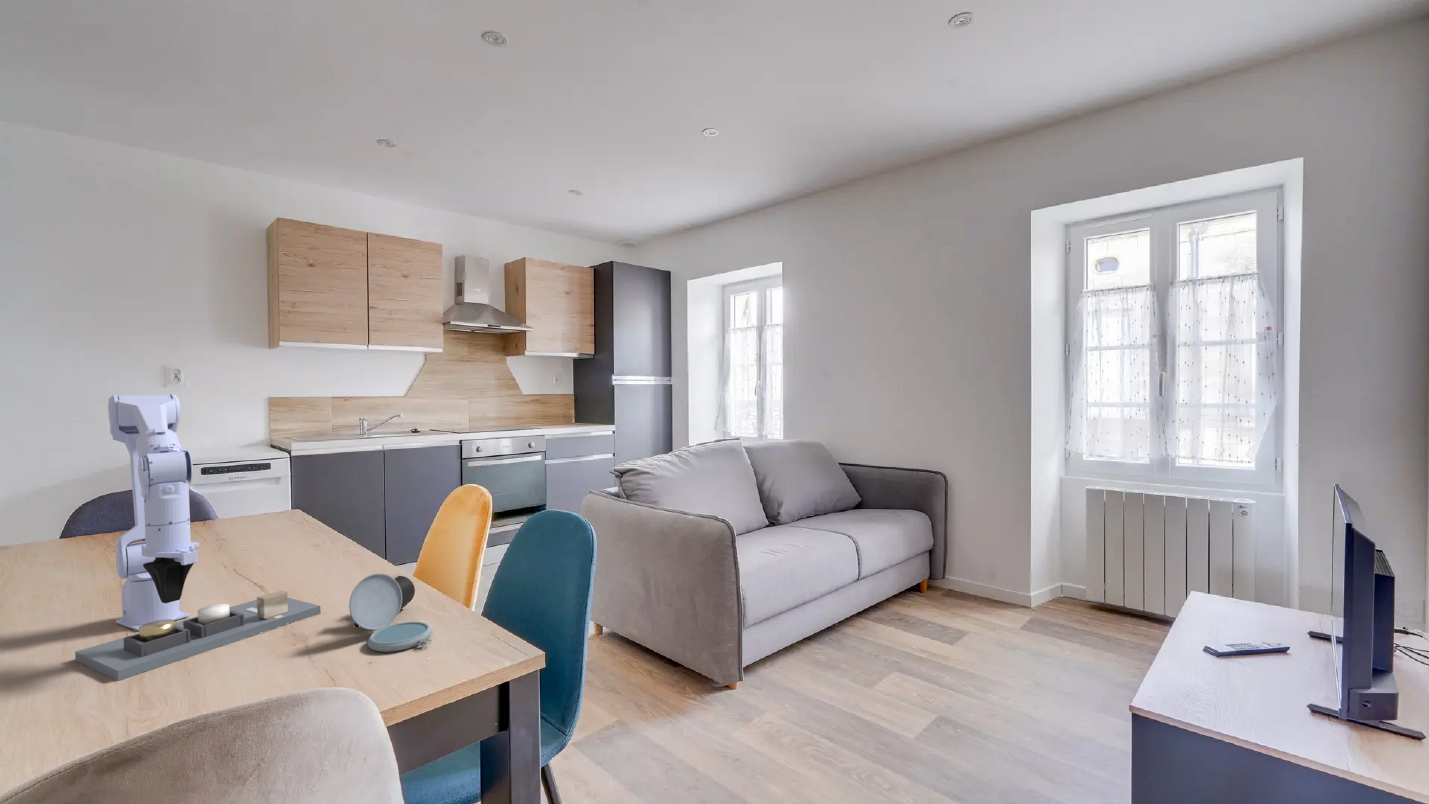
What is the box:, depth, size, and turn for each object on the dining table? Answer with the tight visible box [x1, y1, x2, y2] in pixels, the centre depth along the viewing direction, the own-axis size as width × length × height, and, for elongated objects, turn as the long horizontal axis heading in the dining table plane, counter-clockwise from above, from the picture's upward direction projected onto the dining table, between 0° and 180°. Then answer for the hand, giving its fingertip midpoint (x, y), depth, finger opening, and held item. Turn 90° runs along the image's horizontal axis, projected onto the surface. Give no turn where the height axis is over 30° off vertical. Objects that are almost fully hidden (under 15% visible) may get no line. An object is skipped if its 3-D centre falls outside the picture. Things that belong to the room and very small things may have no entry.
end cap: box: [353, 575, 416, 628], centre depth 116 cm, size 10×7×7 cm
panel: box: [74, 597, 322, 681], centre depth 109 cm, size 16×30×4 cm, turn 153°
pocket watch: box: [348, 573, 433, 653], centre depth 105 cm, size 10×11×15 cm
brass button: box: [138, 619, 176, 641], centre depth 101 cm, size 4×4×2 cm
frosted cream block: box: [256, 589, 288, 619], centre depth 114 cm, size 2×4×4 cm, turn 153°
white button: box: [197, 603, 230, 624], centre depth 108 cm, size 4×4×2 cm
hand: (170, 601), depth 103 cm, fingers closed
